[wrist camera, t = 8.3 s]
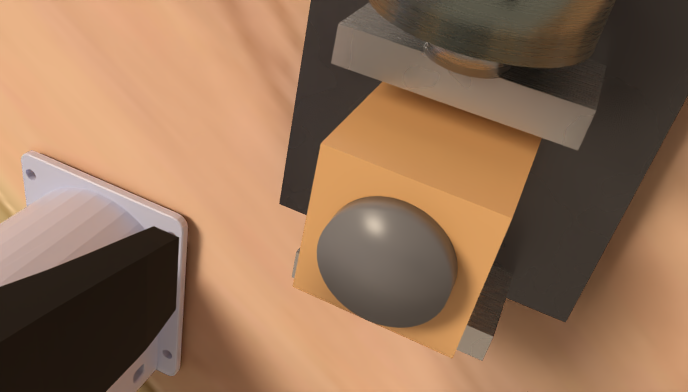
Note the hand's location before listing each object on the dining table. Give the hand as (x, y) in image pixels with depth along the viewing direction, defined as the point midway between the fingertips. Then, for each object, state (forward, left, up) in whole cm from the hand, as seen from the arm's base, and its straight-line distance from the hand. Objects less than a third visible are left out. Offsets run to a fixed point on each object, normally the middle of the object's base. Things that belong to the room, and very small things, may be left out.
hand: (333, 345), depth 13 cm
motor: (+2, 0, -9) cm, 10 cm away
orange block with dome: (0, 0, -8) cm, 8 cm away
